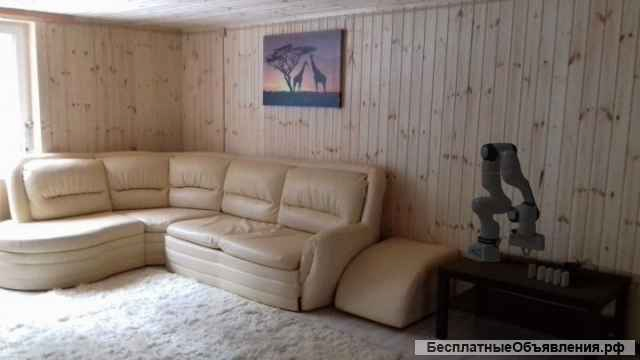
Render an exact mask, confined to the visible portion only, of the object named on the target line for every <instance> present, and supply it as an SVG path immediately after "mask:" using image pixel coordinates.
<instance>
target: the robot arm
mask: <svg viewBox="0 0 640 360" xmlns="http://www.w3.org/2000/svg"><path fill="white" fill-rule="evenodd" d="M480 155H481V159H482V160H481V161H482V162H481V186H482V188H484V189H485V190H486V191H487V192H488V194H489V195H488V196H479V197H475V198H474V199H473V200H472V201H471V210H472V212H473V213H474V214H475V215H476V216H477V218H478V219H479V222H480V235H479V236H477V237H476V239H477V240H476V241H475V242H474V243H472V244H471V245H469V246H468V248H467V252H465V253H463V257H465V258H468V259H471V260H473V261H476V262H479V263H498V262H501V261H502V259H501V256H500V255H501V253H500V244H501V237H500V232H501V224H500V223H499V222H498V221H497V220H495V219H494V215H504V214H506V216H507V219H508V221H510V222H511V223H512V224H513V223H514V224H519V226H518V227H515V228H514V227H513V228H511V229H510V230H509V232H510V233H509V238H508V245H509V246H512V247H517V248H520V249H521V252H522V256H524V257H530V254H531V252H532V251H538V252H539V251H540V252H543V251H544V250H545V249H546V242H545V241H546V236H545V235H544V234H543V233H538V232H537V221H538V220H539V219H540V217H541V212H540V209H539V207H538V205H537V203H536V201H535V197H534V194H533V191H532V188H531V184H530V182H529V180H528V179H527V178H526V177H525V176H524V174H523V171H522V166H521V162H520V159H519V156H518V147H517V146H516V144H514V143H511V142H494V143H493V142H492V143H491V142H489V143H485V144H483V145H482V146H481V148H480ZM502 181H503V182H504V183H506V184H507V185H508V186H511V187H513V188H515V189H518V190H519V192H520V193H521V195H522V198H523V201H522V202H521V203H520V204H517V205H513V203H512V200H511V198H510V197H509V196H507V194H506V193H505V192H504V190H503V187H502V186H503V185H502ZM526 249H527V250H526ZM526 251H527V252H526Z"/></svg>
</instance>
